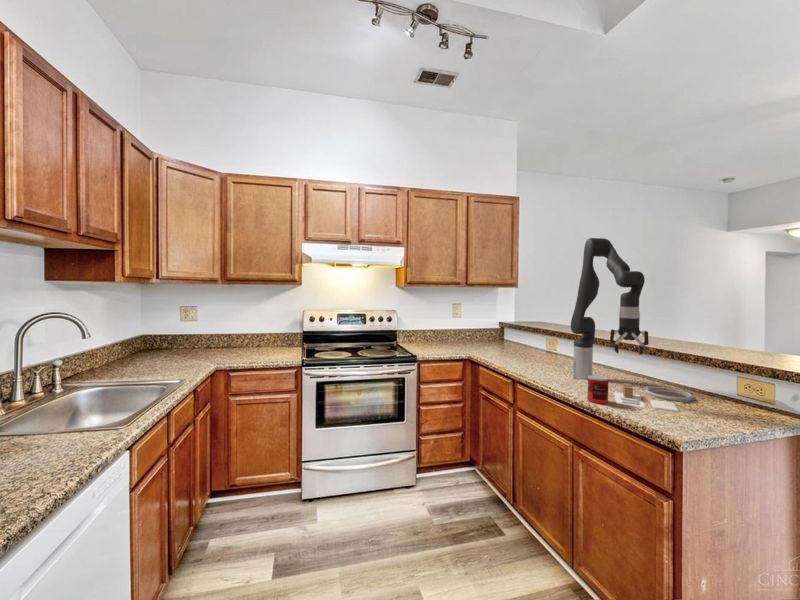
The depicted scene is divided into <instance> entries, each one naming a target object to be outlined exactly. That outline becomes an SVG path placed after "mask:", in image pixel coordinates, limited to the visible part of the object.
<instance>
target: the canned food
mask: <svg viewBox="0 0 800 600" xmlns="http://www.w3.org/2000/svg"><path fill="white" fill-rule="evenodd" d="M587 401H588V402H590V403H592V404H595V405H607V404H608V403H609V378H608V376H604V375H599V374H592V375H589V376H588V380H587Z"/></svg>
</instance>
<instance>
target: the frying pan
mask: <svg viewBox="0 0 800 600" xmlns="http://www.w3.org/2000/svg"><path fill="white" fill-rule="evenodd" d="M637 385H638V388H639V389H640V388H645V392H646V393H647V395H649V396H650V397H654V398H656V399H661V400H666V401H670V402H672V401H673V402H682V403H688V402H691V400H692V399H693V397H694V396H693V395H692V394H691V393H690V392H688V391H685V390H681V389H676V388H672V387H671V388H670V387H663V386H661V387H660V386H651V385H644V384H642V383H641V382H638V383H637Z"/></svg>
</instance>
